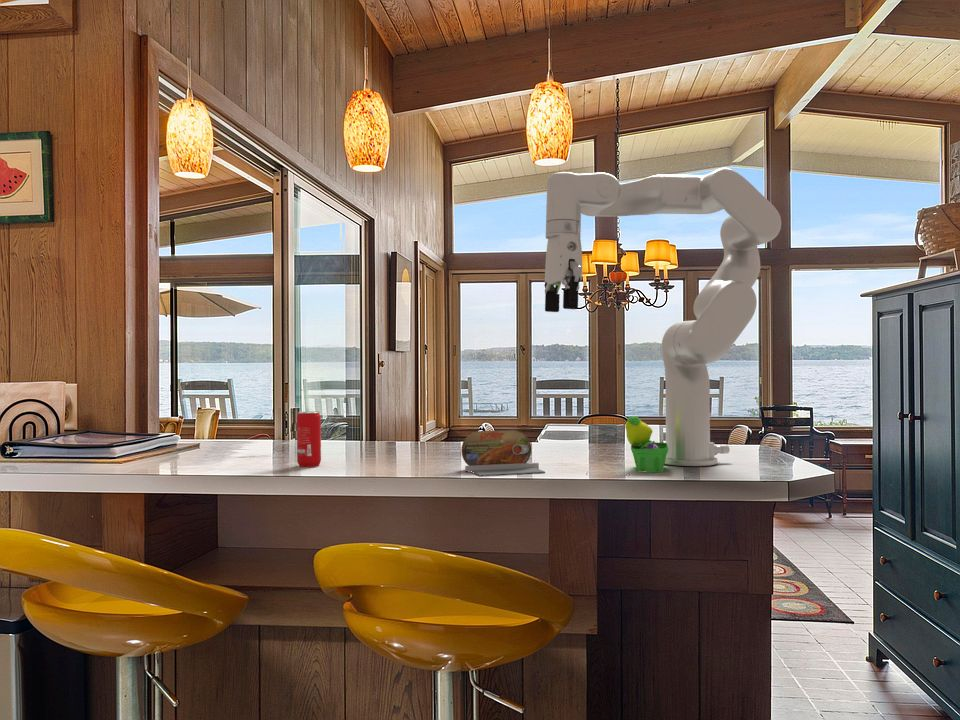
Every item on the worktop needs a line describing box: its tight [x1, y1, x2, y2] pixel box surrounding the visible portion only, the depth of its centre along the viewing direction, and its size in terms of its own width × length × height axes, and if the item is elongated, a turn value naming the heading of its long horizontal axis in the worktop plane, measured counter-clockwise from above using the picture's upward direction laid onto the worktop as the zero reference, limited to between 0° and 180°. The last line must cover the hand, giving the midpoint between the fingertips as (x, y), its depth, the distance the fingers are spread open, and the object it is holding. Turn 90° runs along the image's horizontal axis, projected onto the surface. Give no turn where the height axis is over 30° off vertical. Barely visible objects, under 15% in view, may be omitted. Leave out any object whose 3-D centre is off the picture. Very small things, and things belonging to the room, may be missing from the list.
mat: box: [464, 462, 546, 476], centre depth 160 cm, size 16×7×1 cm, turn 107°
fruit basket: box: [624, 415, 669, 473], centre depth 164 cm, size 11×9×11 cm
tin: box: [461, 429, 532, 466], centre depth 166 cm, size 15×3×8 cm, turn 101°
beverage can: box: [296, 410, 322, 468], centre depth 172 cm, size 5×5×12 cm
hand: (560, 310), depth 167 cm, fingers open, 9 cm apart
